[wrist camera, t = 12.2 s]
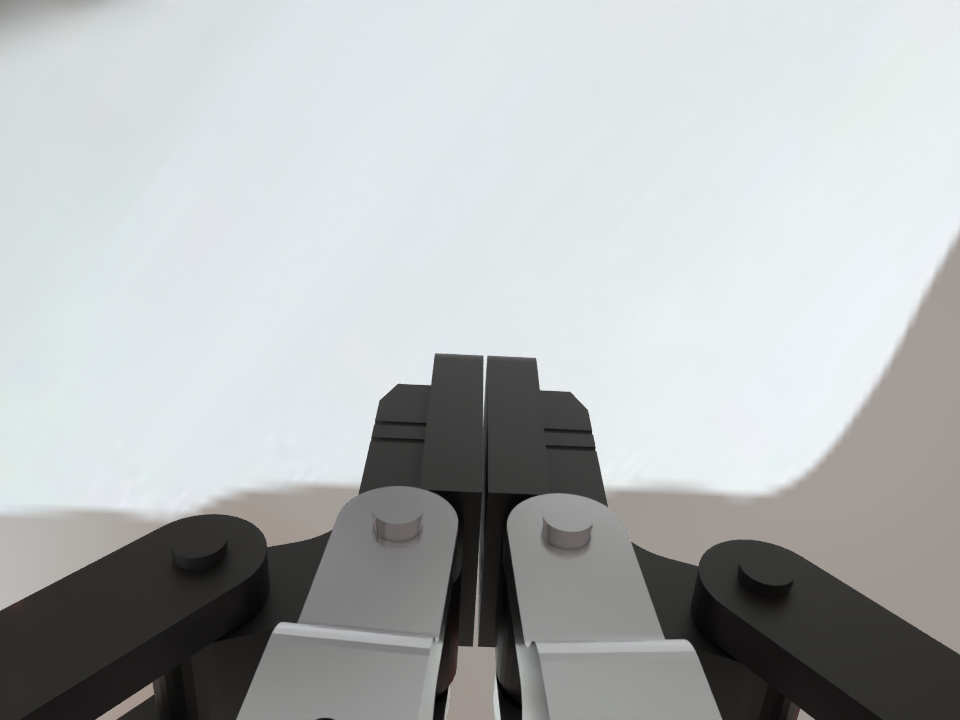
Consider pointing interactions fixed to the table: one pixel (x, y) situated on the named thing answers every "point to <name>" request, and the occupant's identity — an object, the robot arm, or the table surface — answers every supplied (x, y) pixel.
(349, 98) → the table surface
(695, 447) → the table surface
